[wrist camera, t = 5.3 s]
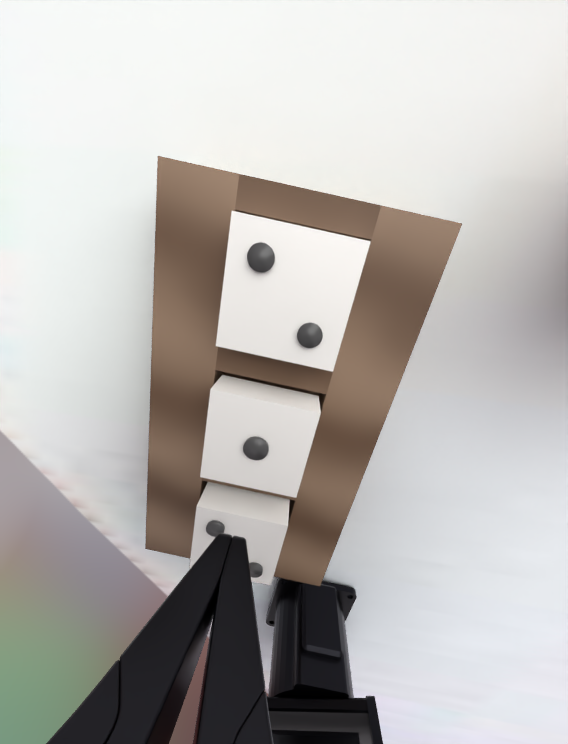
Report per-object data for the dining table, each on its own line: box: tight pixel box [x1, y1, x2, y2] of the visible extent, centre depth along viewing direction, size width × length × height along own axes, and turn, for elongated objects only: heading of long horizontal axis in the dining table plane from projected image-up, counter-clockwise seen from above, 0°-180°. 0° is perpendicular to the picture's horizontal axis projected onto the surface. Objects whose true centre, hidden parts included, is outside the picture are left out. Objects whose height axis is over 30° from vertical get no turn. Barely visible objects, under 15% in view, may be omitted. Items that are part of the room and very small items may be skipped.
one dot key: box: [200, 375, 321, 498], centre depth 13 cm, size 5×5×2 cm
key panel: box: [145, 156, 462, 586], centre depth 15 cm, size 22×12×3 cm, turn 168°
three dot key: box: [189, 482, 290, 586], centre depth 16 cm, size 5×5×2 cm
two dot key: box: [216, 211, 371, 372], centre depth 11 cm, size 5×5×2 cm
